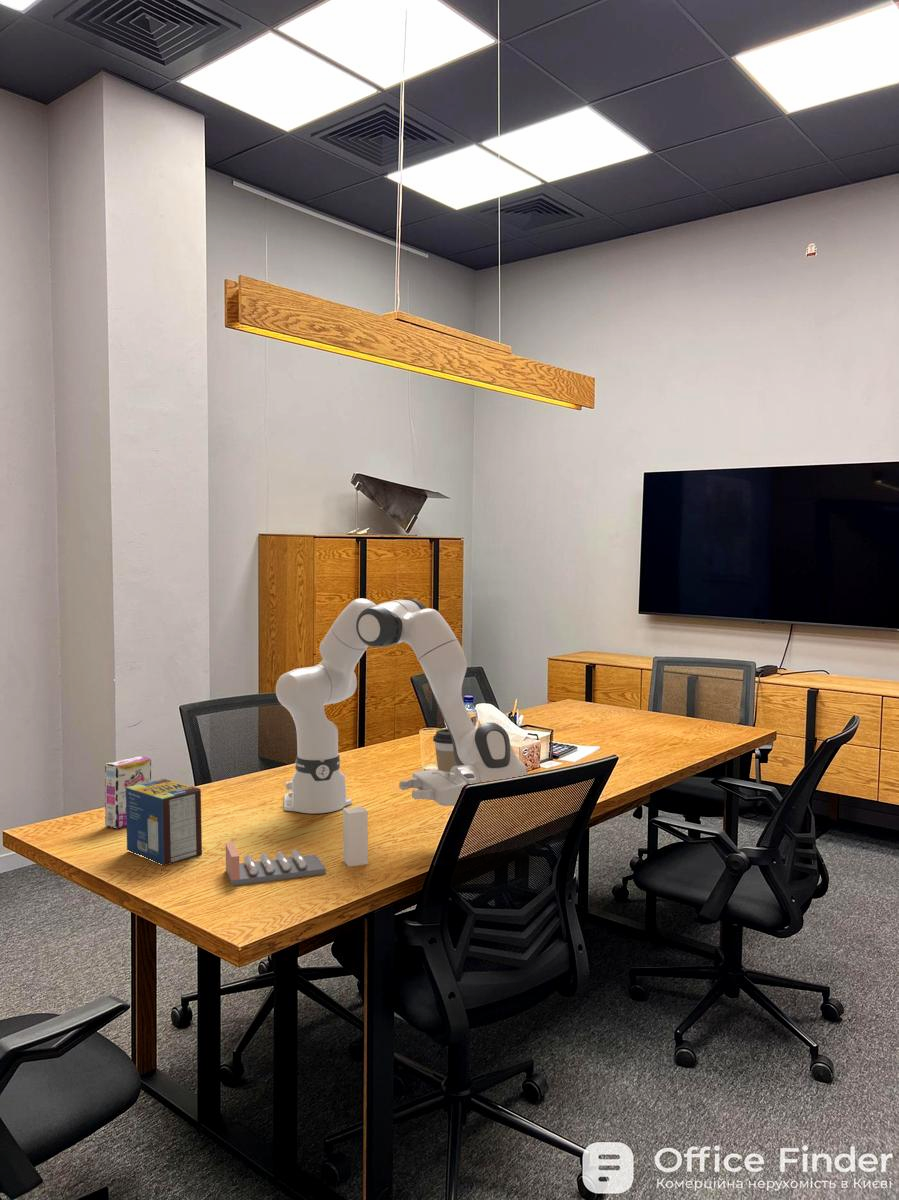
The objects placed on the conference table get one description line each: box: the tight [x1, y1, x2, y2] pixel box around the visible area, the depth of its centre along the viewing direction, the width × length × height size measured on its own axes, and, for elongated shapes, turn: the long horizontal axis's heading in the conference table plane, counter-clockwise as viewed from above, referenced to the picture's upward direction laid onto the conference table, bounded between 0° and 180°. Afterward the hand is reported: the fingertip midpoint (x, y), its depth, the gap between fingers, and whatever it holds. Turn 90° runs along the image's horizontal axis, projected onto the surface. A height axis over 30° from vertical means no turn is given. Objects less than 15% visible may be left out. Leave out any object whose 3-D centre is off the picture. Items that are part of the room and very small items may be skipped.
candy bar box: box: [104, 756, 152, 830], centre depth 232 cm, size 11×5×16 cm, turn 149°
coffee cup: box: [432, 728, 458, 773], centre depth 277 cm, size 11×11×15 cm
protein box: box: [126, 778, 203, 866], centre depth 209 cm, size 10×15×16 cm
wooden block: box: [342, 805, 369, 867], centre depth 203 cm, size 4×4×12 cm
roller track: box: [225, 841, 327, 887], centre depth 196 cm, size 10×20×6 cm, turn 111°
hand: (406, 790), depth 207 cm, fingers open, 8 cm apart
